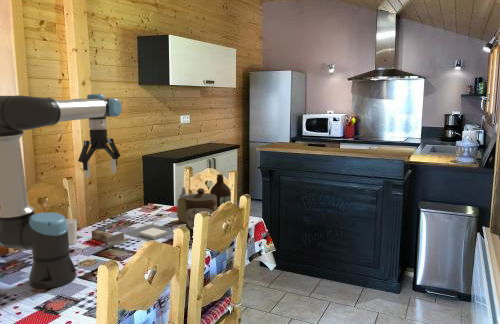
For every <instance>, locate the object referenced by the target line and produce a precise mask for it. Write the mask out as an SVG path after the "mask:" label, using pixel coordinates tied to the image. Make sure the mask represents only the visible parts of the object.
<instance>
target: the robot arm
mask: <svg viewBox="0 0 500 324" xmlns="http://www.w3.org/2000/svg"><path fill="white" fill-rule="evenodd" d="M86 96H87V97H86V98H73V99H72V98H71V99H60V100H59V99H55V98H52V97H38V96H30V95H29V96H28V95H0V246H2V247H6V248H8V249H18V250H24V251H25V250H28V251H31V252H32V264H31V269H30V273H29V277H28V281H29V282H28V283H29V286H30V287H32V288H35V289H41V290H42V289H53V288H54V289H55V288H57V287H62V286H64V285H67V284H69V283H71V282H73V281H74V280H75V279H76V278H77V270H76V267H75V264H74V262H73V260H72V258H71V256H70V245H69V241H68V226H67V222H66V219H67V218H66V217H65V216H64V215H63V214H61V213H58V212H52V211H50V212H45V211H44V212H38V213H35V208H34V207H33V206H31V205H30V203H29V197H28V192H27V191H28V190H27V185H26V184H27V183H26V178H25V170H24V163H23V156H22V150H21V149H22V148H21V142H20V140H21V138H22V137H23V135H24V134H25V133H24V131H30V130H34V129H35V130H36V129H40V128H44V127H49V126H55V125H57V124H58V123H61V122H69V121H76V120H77V121H78V120H86V119H87V120H88V128H89V138H90V140H83V146H82V149H81V150H80V155H79V157H78V159H77V160H78V161H77V162H79V163H82V170H83V171H84V177H85V178H91V169H90V167H91V166H90V163H89V161H90V159H91V158H92V156H93V154H94V153H95V152H96V151H97V150H98V151H99V150H104V151H105V152H106V153H107V154H108V155H109V157H111V158H110V166H111V167H110V169H111V174H112V173H113V174H117V166H118V159H119V158H120V157H121V154H120V152H119V150H118V147H117V146H116V143H115V140H114V138H112V137H108V129H107V128H108V127H107V118H114V117H119V116H120V115H121V114H122V110H123V107H122V102H121V101H120V100H119V99H118V98H112V97H110V98H109V97H107V98H105V95H104V94H101V93H100V94H98V93H95V94H94V93H93V94H90V93H89V94H87V95H86ZM108 144H109V145H108Z"/></svg>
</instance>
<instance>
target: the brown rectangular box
mask: <svg viewBox="0 0 500 324" xmlns="http://www.w3.org/2000/svg"><path fill="white" fill-rule="evenodd" d="M124 233H125V232H123V231H122V232H119V233H118V232H117V233H116V234H112V233H109V232H105V231H102V230H99V229H93V230H91V238H92V239H94V240H97V241H100V242H103V243H106V247H107V249H112V248H114V247H115V246H116V245H119V244H122V243H125V236H124V235H125V234H124Z"/></svg>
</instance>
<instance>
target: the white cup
mask: <svg viewBox="0 0 500 324" xmlns="http://www.w3.org/2000/svg"><path fill="white" fill-rule="evenodd" d="M66 222H67V226H68V241H69V246H71V245H75V244H76V243H77V242H78V238H77V235H78V226H77V225H78V223H77V219H75V218H66Z"/></svg>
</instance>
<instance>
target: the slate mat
mask: <svg viewBox="0 0 500 324" xmlns="http://www.w3.org/2000/svg"><path fill="white" fill-rule="evenodd" d="M151 228H156V229H159V230H163V231H167V235H165V236H162V237H159V238H156V239H151V238H147V237H144V236H140V234H139V232H141V231H145V230H148V229H151ZM173 230H174V229H173V228H169V227H164V226H161V225H158V224H154V223H152V224H151V223H150V224H148V225H145V226H142V227H138V228H134V229H132V230H130V231H129V230H128V231H126V232H123V233H124V235H125V236H129V237H132V238H137V239H140V240H142V241H146V242H149V240H154V241H156V240H160V239H162V238H165V237H167V236H170V235H174V233H173Z"/></svg>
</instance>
